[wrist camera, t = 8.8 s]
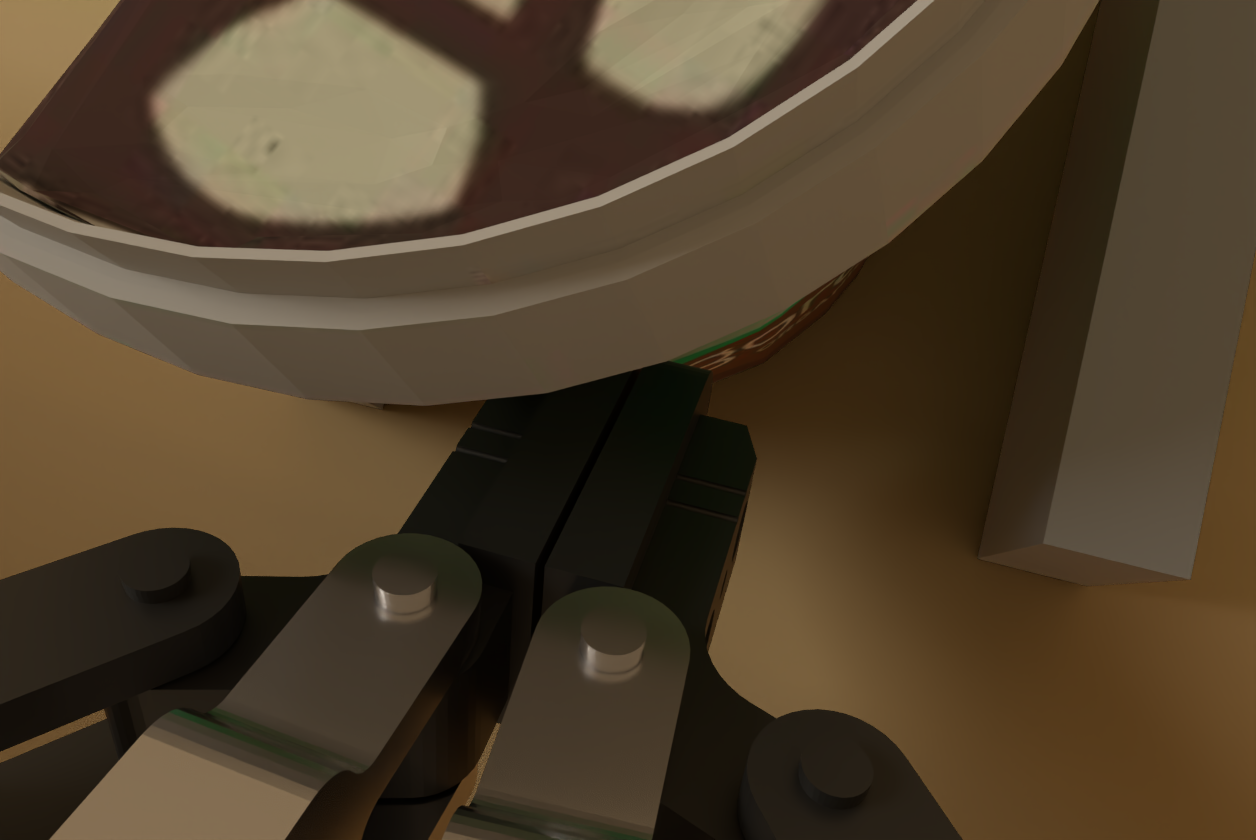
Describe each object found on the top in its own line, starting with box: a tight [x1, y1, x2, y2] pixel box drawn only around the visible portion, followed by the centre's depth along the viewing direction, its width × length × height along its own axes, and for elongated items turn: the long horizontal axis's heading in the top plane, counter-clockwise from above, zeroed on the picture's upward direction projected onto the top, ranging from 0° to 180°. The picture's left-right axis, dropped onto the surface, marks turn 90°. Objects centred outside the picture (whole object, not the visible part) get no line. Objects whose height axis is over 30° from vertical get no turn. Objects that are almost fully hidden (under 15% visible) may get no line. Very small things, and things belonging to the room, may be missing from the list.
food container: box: [0, 0, 1099, 406], centre depth 12 cm, size 12×6×10 cm, turn 144°
